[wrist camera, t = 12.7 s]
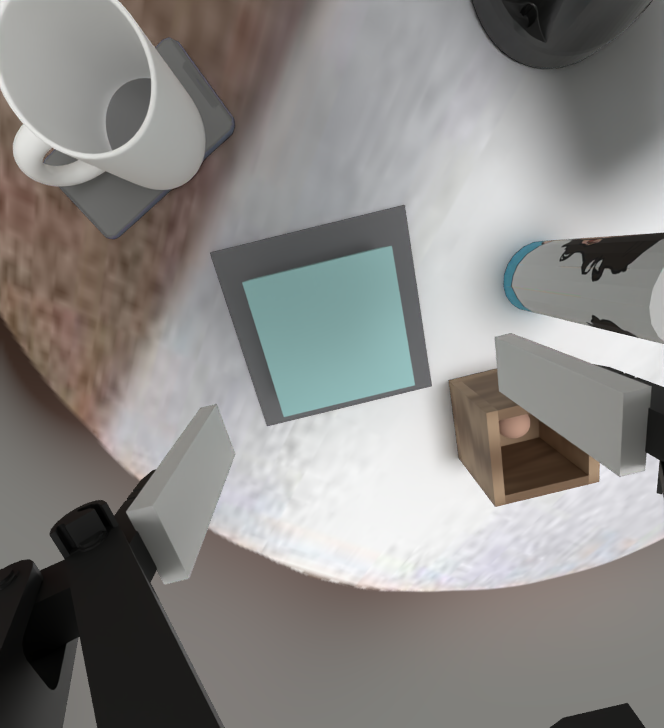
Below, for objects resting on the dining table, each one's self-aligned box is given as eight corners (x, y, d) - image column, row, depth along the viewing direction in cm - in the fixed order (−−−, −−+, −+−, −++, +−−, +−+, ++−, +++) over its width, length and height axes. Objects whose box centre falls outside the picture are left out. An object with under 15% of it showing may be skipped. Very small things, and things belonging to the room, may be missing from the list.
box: (448, 380, 36) (486, 413, 28) (539, 358, 36) (601, 385, 28) (458, 458, 39) (495, 506, 32) (542, 438, 39) (599, 481, 32)
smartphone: (36, 164, 27) (169, 29, 25) (45, 167, 28) (174, 36, 26) (110, 243, 30) (238, 124, 27) (116, 243, 30) (241, 129, 28)
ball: (485, 404, 36) (503, 418, 33) (516, 396, 36) (537, 410, 33) (488, 431, 37) (505, 448, 34) (518, 424, 37) (538, 440, 34)
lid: (252, 278, 31) (242, 282, 26) (378, 247, 31) (391, 245, 26) (287, 394, 35) (283, 417, 30) (399, 367, 35) (415, 385, 30)
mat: (211, 252, 31) (209, 252, 30) (403, 205, 31) (404, 204, 30) (267, 424, 36) (267, 426, 36) (430, 384, 36) (431, 386, 36)
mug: (118, 236, 30) (25, 225, 20) (45, 143, 27) (-101, 80, 18) (229, 156, 28) (188, 103, 19) (162, 52, 26) (76, -72, 16)
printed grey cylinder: (559, 312, 35) (736, 350, 20) (497, 309, 34) (633, 347, 20) (577, 243, 33) (786, 231, 18) (511, 238, 32) (674, 224, 18)
